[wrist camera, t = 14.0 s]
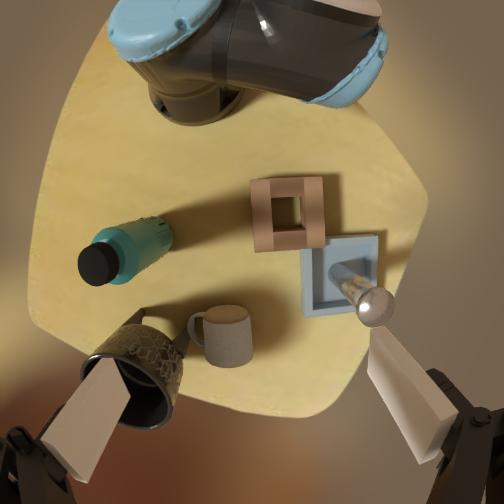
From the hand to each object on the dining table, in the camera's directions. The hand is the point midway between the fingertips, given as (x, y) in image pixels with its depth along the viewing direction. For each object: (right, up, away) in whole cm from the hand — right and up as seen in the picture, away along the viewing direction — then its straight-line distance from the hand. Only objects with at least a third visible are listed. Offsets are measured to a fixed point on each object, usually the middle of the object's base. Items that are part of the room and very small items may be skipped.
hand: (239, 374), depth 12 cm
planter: (-15, -9, +33) cm, 37 cm away
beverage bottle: (-14, +8, +30) cm, 34 cm away
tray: (+14, +3, +31) cm, 34 cm away
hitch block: (+6, +12, +29) cm, 32 cm away
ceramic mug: (-4, -7, +33) cm, 34 cm away
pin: (+14, +2, +30) cm, 33 cm away
